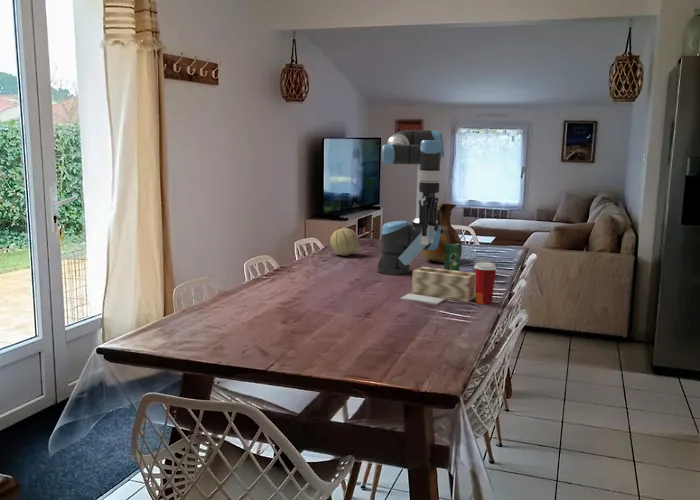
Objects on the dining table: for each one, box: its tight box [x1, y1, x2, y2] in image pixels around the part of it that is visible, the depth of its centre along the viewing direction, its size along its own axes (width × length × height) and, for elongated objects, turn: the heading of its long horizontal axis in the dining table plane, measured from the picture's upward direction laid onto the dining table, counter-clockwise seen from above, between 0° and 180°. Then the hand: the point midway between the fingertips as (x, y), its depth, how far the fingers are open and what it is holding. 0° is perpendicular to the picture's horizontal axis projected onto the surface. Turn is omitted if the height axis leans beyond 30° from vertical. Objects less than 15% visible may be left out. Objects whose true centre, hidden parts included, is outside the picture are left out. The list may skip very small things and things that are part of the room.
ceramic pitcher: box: [421, 201, 463, 263], centre depth 324 cm, size 20×20×30 cm
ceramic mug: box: [472, 258, 495, 273], centre depth 295 cm, size 11×8×8 cm
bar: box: [398, 226, 437, 265], centre depth 248 cm, size 17×4×4 cm
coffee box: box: [443, 243, 462, 271], centre depth 302 cm, size 8×3×13 cm, turn 129°
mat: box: [400, 293, 446, 306], centre depth 251 cm, size 8×15×1 cm, turn 61°
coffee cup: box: [474, 262, 497, 306], centre depth 246 cm, size 8×8×15 cm
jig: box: [411, 266, 476, 303], centre depth 257 cm, size 23×10×10 cm, turn 61°
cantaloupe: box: [329, 226, 359, 257], centre depth 337 cm, size 15×15×15 cm
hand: (427, 243), depth 246 cm, fingers closed on bar, 4 cm apart
